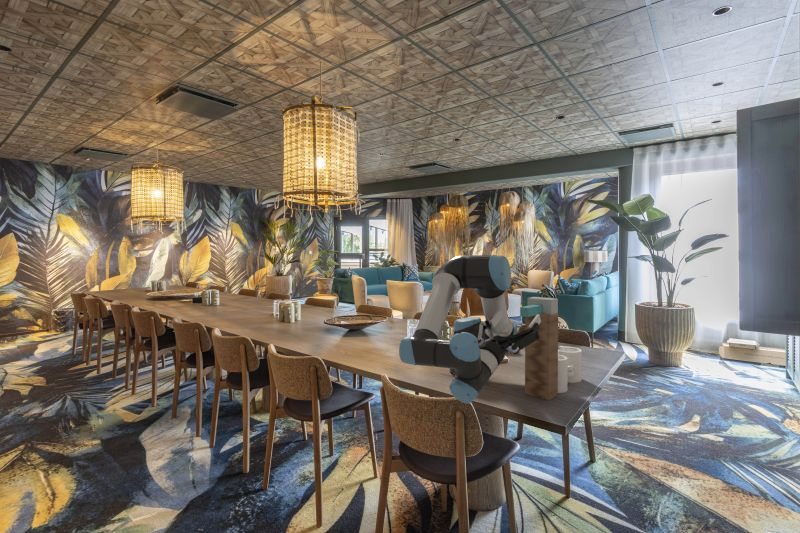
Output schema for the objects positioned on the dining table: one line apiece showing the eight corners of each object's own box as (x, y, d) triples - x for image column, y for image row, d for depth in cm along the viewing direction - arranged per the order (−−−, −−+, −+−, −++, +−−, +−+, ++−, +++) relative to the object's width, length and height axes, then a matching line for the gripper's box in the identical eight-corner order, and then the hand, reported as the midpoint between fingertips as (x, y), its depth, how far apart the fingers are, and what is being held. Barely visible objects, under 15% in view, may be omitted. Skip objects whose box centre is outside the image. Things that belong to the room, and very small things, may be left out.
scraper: (512, 314, 137) (512, 300, 137) (534, 309, 148) (534, 296, 148) (536, 318, 131) (536, 302, 131) (558, 312, 142) (558, 298, 142)
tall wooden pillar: (524, 393, 145) (525, 312, 144) (534, 389, 150) (534, 309, 148) (548, 400, 138) (549, 314, 137) (557, 395, 143) (558, 312, 142)
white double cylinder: (564, 395, 143) (565, 362, 143) (538, 389, 150) (538, 357, 149) (584, 377, 162) (585, 348, 162) (560, 373, 169) (560, 345, 168)
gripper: (457, 359, 127) (489, 320, 139) (529, 377, 109) (559, 329, 121) (449, 341, 124) (483, 302, 136) (523, 356, 106) (554, 309, 119)
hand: (519, 315), depth 129 cm, fingers open, 13 cm apart
